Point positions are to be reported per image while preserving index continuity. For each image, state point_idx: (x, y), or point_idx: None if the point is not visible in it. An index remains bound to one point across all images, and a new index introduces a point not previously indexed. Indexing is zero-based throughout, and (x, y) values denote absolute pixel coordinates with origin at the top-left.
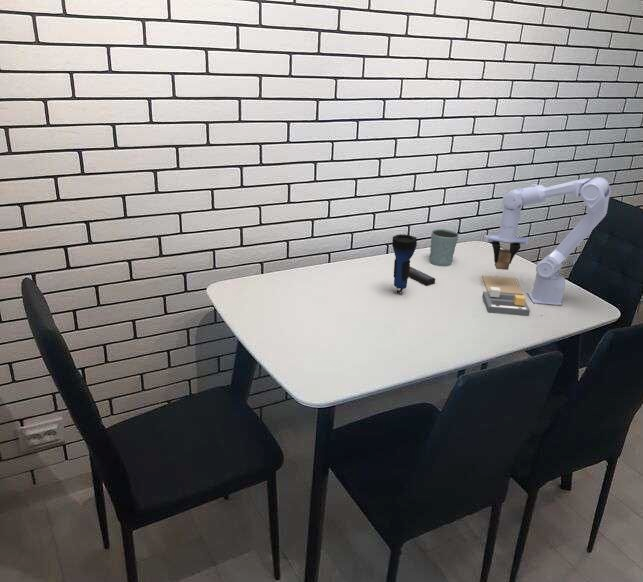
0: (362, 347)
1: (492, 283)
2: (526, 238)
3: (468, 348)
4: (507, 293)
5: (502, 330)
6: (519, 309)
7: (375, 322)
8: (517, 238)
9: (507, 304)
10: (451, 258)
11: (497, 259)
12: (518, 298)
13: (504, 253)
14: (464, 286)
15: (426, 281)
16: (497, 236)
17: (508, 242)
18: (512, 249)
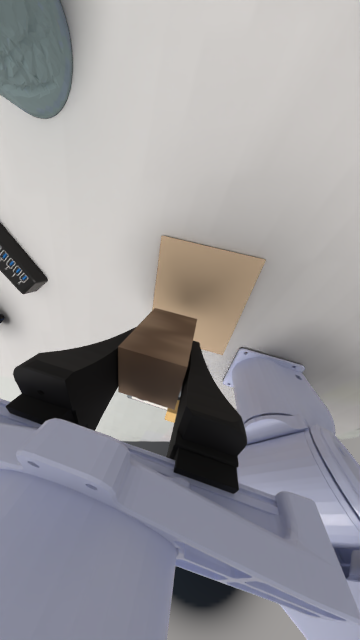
0: None
1: (172, 297)
2: (336, 602)
3: (99, 431)
4: None
5: (139, 421)
6: None
7: (10, 381)
8: (197, 560)
9: None
10: (39, 62)
11: None
12: (168, 420)
13: (142, 398)
14: (107, 298)
15: (22, 293)
16: (2, 443)
17: (134, 458)
18: (172, 434)
